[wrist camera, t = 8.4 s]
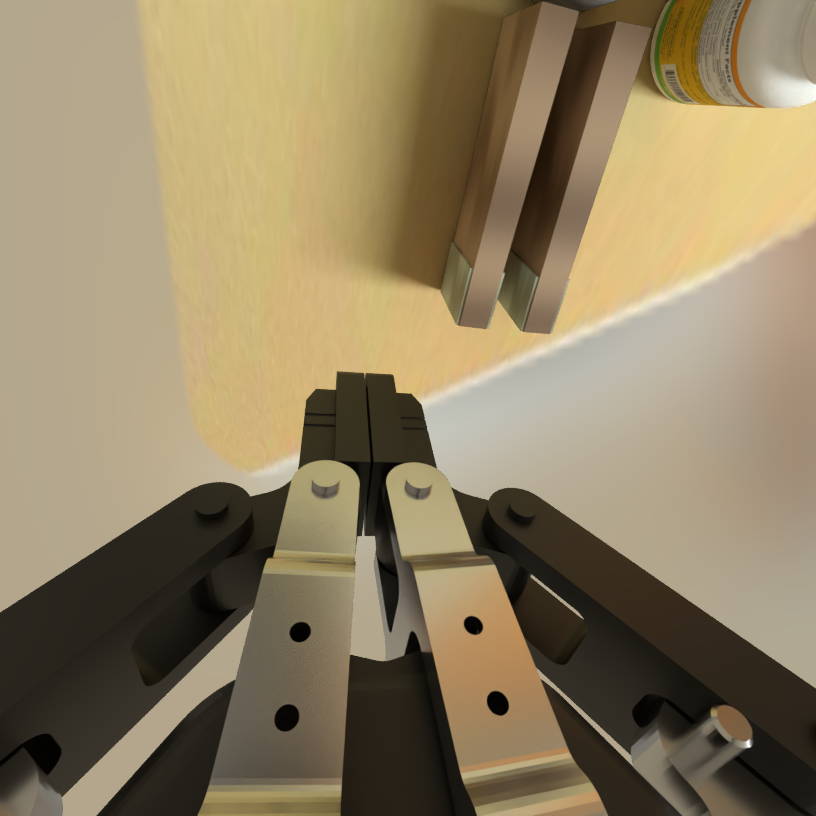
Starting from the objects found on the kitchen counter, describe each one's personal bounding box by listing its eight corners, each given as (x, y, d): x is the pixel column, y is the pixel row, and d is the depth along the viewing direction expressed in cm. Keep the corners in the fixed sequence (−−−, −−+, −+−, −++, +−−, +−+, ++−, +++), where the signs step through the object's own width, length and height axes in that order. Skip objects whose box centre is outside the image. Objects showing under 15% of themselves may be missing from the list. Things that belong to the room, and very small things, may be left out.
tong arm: (500, 17, 21) (538, 0, 17) (537, 26, 21) (583, 12, 17) (440, 290, 28) (456, 325, 24) (468, 294, 28) (489, 329, 24)
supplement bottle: (776, -41, 21) (1040, -118, 13) (732, 101, 24) (923, 108, 16) (664, -38, 21) (865, -116, 13) (634, 106, 24) (780, 116, 16)
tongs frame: (538, -121, 19) (620, -209, 13) (636, -96, 19) (753, -169, 14) (455, 293, 28) (483, 343, 23) (523, 299, 29) (565, 349, 24)
